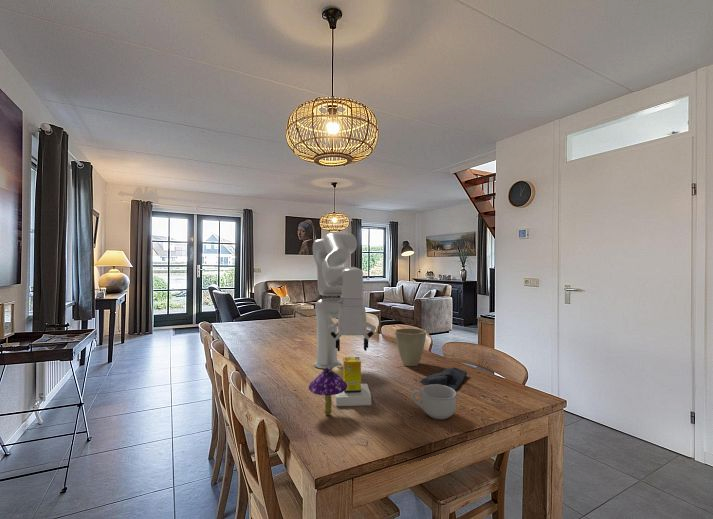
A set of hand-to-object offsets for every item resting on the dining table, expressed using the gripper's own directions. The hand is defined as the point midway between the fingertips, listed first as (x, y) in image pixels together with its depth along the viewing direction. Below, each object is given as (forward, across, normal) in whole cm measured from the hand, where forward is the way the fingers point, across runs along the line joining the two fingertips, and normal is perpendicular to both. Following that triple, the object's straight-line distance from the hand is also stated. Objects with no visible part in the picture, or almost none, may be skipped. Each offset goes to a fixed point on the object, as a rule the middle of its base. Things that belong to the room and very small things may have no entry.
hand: (351, 349), depth 122 cm
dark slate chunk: (+18, +40, +14) cm, 46 cm away
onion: (+18, -4, +17) cm, 25 cm away
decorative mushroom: (+17, -8, -13) cm, 23 cm away
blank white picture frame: (+17, 0, -1) cm, 17 cm away
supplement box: (+14, 0, -1) cm, 14 cm away
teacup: (+17, +25, -16) cm, 34 cm away
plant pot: (+18, +31, +38) cm, 52 cm away
